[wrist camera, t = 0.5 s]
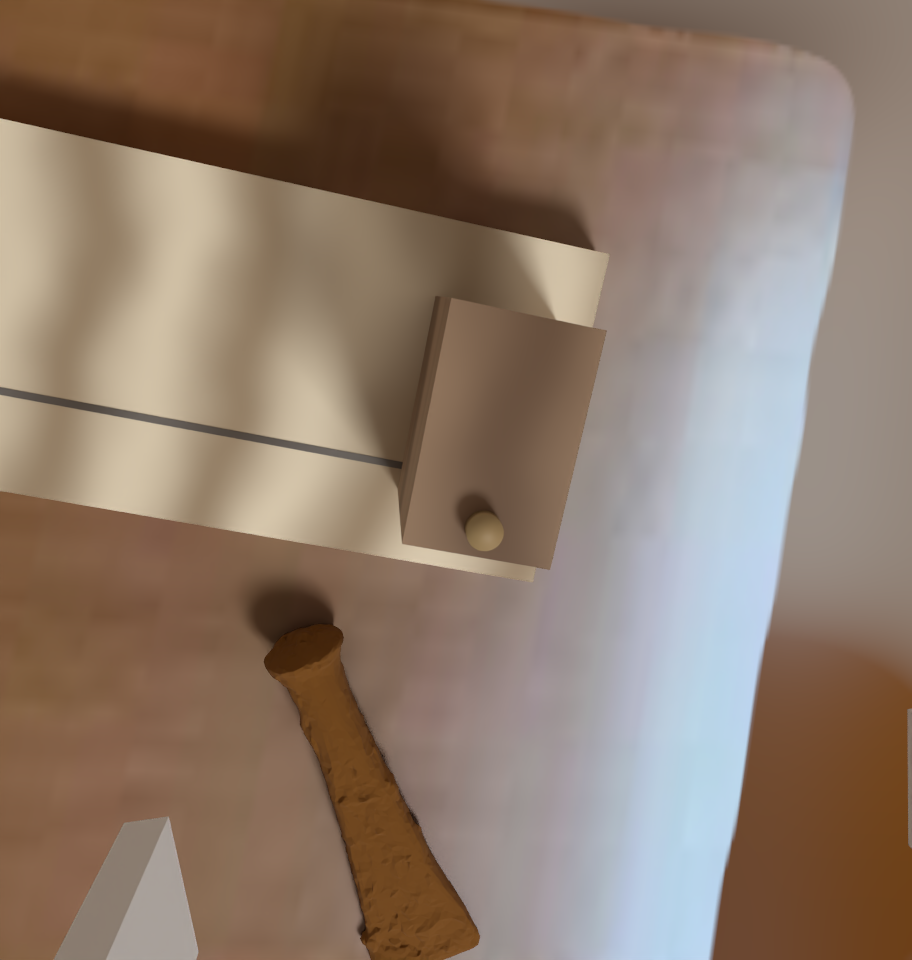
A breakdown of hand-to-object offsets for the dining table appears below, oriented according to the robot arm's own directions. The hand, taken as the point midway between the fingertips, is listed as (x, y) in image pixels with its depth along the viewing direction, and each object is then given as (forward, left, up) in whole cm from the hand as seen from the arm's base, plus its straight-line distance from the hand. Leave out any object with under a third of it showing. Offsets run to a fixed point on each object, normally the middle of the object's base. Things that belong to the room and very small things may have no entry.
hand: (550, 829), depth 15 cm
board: (-10, +5, -24) cm, 26 cm away
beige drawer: (0, +5, -22) cm, 22 cm away
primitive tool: (0, -15, -25) cm, 29 cm away
